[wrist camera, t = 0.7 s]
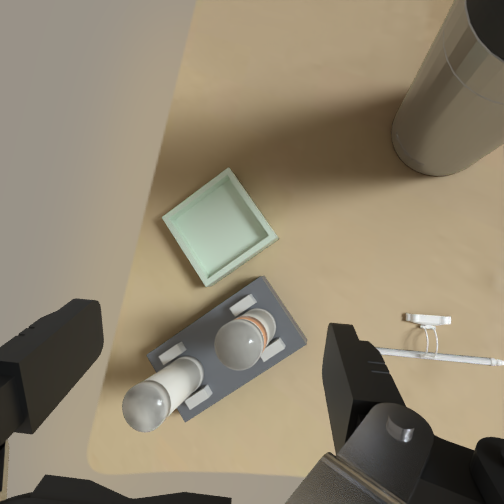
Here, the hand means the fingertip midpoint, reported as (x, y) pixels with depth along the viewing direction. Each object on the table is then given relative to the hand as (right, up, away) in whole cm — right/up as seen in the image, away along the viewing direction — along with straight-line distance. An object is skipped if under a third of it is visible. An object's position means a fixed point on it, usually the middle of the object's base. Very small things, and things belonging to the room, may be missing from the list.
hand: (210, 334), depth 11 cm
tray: (-2, +5, +26) cm, 26 cm away
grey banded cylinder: (+2, -5, +22) cm, 22 cm away
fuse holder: (-1, -7, +25) cm, 26 cm away
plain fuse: (-5, -10, +23) cm, 25 cm away
